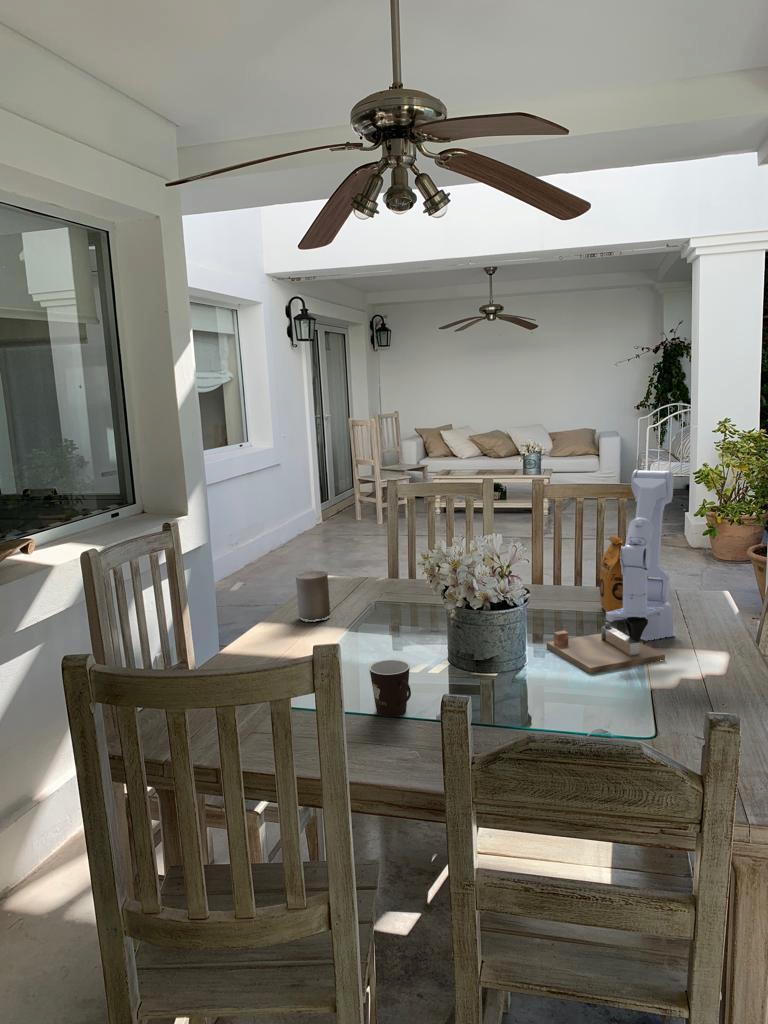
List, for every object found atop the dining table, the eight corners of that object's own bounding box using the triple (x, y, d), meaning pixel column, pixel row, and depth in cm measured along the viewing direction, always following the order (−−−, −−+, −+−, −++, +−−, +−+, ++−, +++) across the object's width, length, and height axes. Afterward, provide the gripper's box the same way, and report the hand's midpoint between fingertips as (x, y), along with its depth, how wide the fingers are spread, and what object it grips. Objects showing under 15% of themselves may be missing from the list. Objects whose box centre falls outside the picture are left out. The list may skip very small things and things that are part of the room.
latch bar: (599, 637, 205) (599, 621, 204) (610, 636, 205) (610, 620, 205) (628, 655, 191) (628, 639, 190) (640, 654, 191) (640, 637, 191)
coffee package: (602, 618, 226) (603, 543, 222) (597, 606, 238) (597, 534, 234) (638, 618, 224) (639, 543, 221) (631, 606, 236) (632, 534, 233)
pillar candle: (337, 615, 240) (333, 567, 238) (317, 624, 232) (314, 575, 229) (311, 612, 245) (308, 565, 243) (291, 620, 237) (288, 572, 235)
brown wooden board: (616, 636, 210) (616, 620, 209) (664, 660, 191) (665, 642, 191) (546, 647, 204) (546, 631, 203) (590, 673, 185) (590, 655, 184)
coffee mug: (370, 704, 173) (368, 661, 172) (409, 701, 174) (407, 658, 172) (374, 727, 162) (371, 681, 160) (415, 724, 163) (413, 678, 161)
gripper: (615, 599, 187) (615, 654, 189) (671, 594, 190) (670, 648, 192) (601, 592, 194) (601, 645, 196) (655, 587, 197) (654, 639, 199)
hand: (634, 646), depth 195 cm, fingers closed
